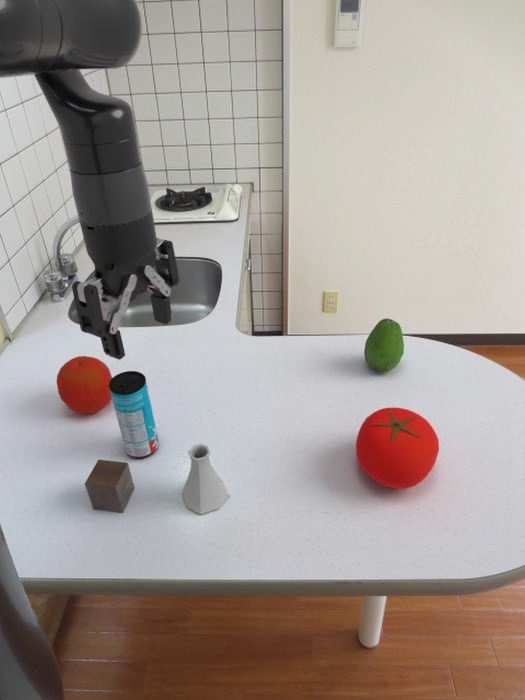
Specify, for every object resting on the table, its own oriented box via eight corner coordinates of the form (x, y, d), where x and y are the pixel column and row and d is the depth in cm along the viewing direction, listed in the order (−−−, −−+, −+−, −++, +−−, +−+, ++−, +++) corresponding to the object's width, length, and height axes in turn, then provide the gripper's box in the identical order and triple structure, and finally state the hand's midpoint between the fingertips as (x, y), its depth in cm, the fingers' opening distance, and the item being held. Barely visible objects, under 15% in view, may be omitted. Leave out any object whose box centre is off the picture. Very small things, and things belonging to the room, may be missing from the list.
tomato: (368, 430, 95) (373, 385, 89) (441, 452, 90) (451, 406, 84) (340, 485, 85) (344, 438, 79) (420, 514, 80) (430, 466, 74)
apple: (128, 400, 104) (117, 353, 98) (88, 430, 98) (74, 381, 91) (94, 384, 109) (81, 337, 103) (54, 411, 102) (38, 363, 96)
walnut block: (122, 513, 82) (115, 487, 78) (93, 509, 83) (84, 483, 79) (134, 488, 86) (128, 462, 83) (106, 484, 87) (98, 459, 83)
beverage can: (166, 446, 93) (153, 380, 85) (138, 465, 90) (122, 398, 81) (146, 431, 97) (131, 366, 88) (119, 448, 93) (101, 382, 85)
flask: (211, 471, 88) (205, 427, 83) (237, 497, 84) (232, 453, 78) (174, 494, 85) (165, 450, 79) (199, 522, 80) (192, 477, 74)
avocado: (398, 382, 106) (406, 332, 99) (360, 375, 108) (364, 326, 102) (402, 359, 112) (409, 311, 106) (366, 354, 115) (370, 306, 108)
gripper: (133, 184, 61) (154, 305, 70) (35, 226, 51) (75, 360, 60) (185, 193, 58) (200, 318, 67) (91, 239, 48) (124, 379, 57)
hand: (140, 338), depth 64 cm, fingers open, 8 cm apart
